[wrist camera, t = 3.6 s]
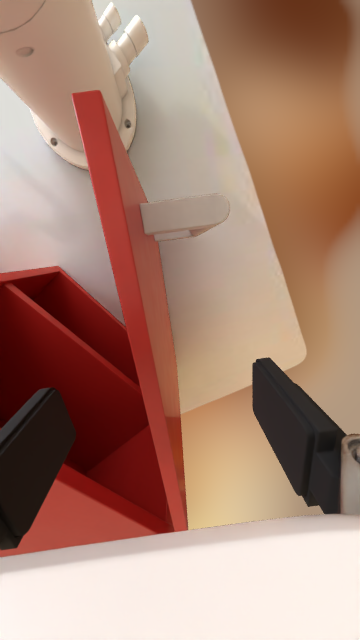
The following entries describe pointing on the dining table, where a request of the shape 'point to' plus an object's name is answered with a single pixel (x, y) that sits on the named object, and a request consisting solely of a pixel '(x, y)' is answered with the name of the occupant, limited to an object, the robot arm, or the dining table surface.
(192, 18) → the dining table surface
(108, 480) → the box
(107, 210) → the fridge door
